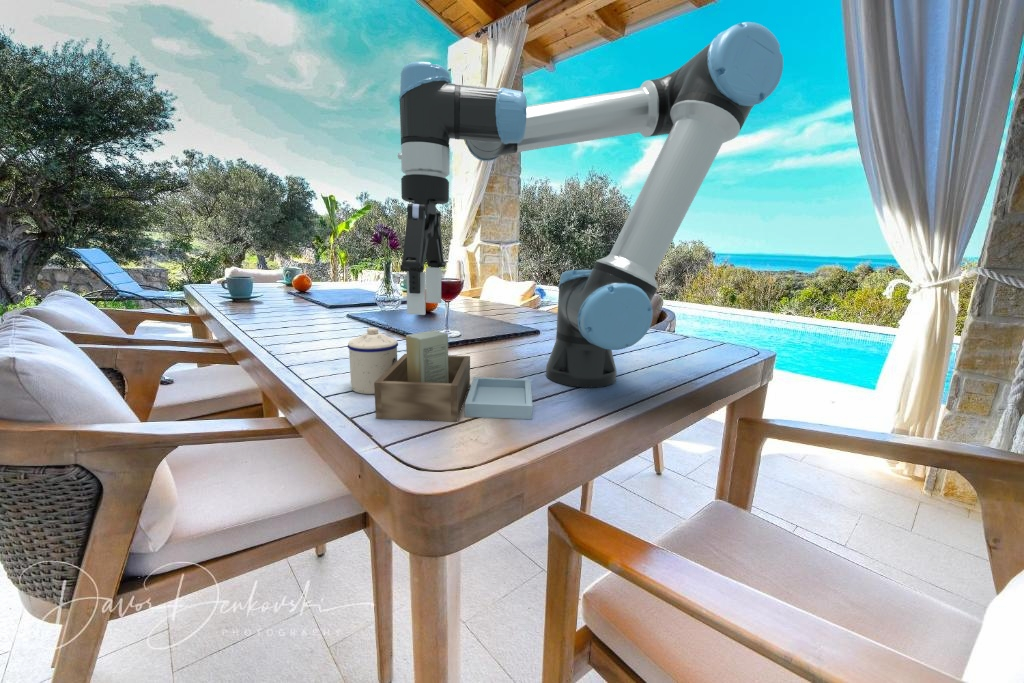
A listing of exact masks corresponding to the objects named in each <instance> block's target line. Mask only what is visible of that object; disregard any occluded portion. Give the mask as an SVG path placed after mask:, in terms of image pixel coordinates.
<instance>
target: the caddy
mask: <svg viewBox="0 0 1024 683" xmlns="http://www.w3.org/2000/svg"><path fill="white" fill-rule="evenodd" d="M448 374H449V383H425V382H408V376H407V353H403V355H402V356H401V357H400V358H398V359H397V362H396V363H395V364H393V365H392V366H391V367H390V368H389V369H388V370H387V371H386V372H385V373H384V374H383V375H382V376H381V377H380V378H379V379H378V380H377V381H376V382H375V383H374V387H375V394H374V404H375V405H374V407H375V408H374V410H375V419H381V420H382V419H384V420H409V421H433V422H435V421H436V422H458V420H459V417H460V414H461V412H462V409H461V408H463V406H462V405H464V404H465V401H466V398H467V395H468V392H469V389H470V386H471V382H470V381H471V355H451V354H450V355H449V354H448ZM469 385H470V386H469ZM468 388H469V389H468ZM460 411H461V412H460Z"/></svg>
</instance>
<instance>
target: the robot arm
mask: <svg viewBox="0 0 1024 683" xmlns="http://www.w3.org/2000/svg"><path fill="white" fill-rule="evenodd" d="M780 45H781V44H780V43H779V41H778V39H777V37H776V36H775V34H774V33H773V32H771V30H769V29H768V28H767V27H766V26H763V24H761V23H757V22H753V21H752V22H751V21H745V22H741V23H740V22H739V23H737V24H734V25H732V26H730V27H729V28H728V29H725V30H723V31H721V32H720V33H718V34H717V35H716V36H715V37H714V38H713V39H712V41H711V42H710V43H709V44H707V45H706V46H704V48H702V49H701V50H700V51H699V52H697V54H695V55H694V56H692V58H690V59H689V60H688V61H687V62H686V63H684V64H683V65H682V66H681V67H679V68H677V69H675V70H674V71H672V72H671V73H669V74H666V75H665V76H663V77H658V78H655V79H648V80H645V81H643V82H642V84H641V85H640V87H637V88H632V89H630V88H629V89H626V90H619V91H612V92H608V93H607V92H606V93H600V94H594V95H588V96H581V97H575V98H569V99H564V100H563V99H562V100H555V101H549V102H543V103H538V104H529V105H528V102H527V96H526V94H525V93H524V92H523V91H521V90H515V89H511V88H510V89H509V88H506V87H486V86H475V85H462V84H455V83H452V81H451V77H450V73H449V71H448V70H447V69H446V68H445V67H444V66H442V65H440V64H439V63H438V64H437V63H436V64H434V63H432V62H429V61H421V60H419V61H418V60H417V61H412V62H410V63H407V64H406V65H404V66H403V67H402V68H401V73H400V90H399V93H400V95H399V96H398V97H399V98H398V101H399V114H400V115H399V120H400V121H399V125H400V127H399V128H400V150H401V152H398V154H397V159H399V160H400V165H401V166H400V167H401V168H400V169H401V170H400V171H401V172H402V173H403V174H405V175H403V176H402V177H401V178H400V181H401V182H400V183H401V185H400V188H401V194H400V195H401V199H402V200H403V201H404V202H408V203H407V206H406V209H407V210H406V211H407V212H406V214H407V216H406V217H407V218H406V219H407V220H406V227H405V235H404V244H403V251H402V253H403V254H402V261H401V264H400V272H406V314H407V315H417V316H418V315H420V316H426V314H427V313H426V307H427V306H426V305H427V304H442V268H446V265H447V264H446V263H447V262H446V261H445V259H444V253H443V252H444V250H443V241H442V240H443V239H442V238H443V237H442V228H441V227H442V226H441V216H442V214H441V211H439V210H438V211H437V205H445V204H448V203H449V201H450V181H449V180H448V178H447V177H449V175H450V164H451V163H450V162H451V161H450V159H451V158H450V154H451V153H450V152H451V151H450V149H451V148H450V139H451V140H452V139H455V140H462V141H463V140H464V141H465V144H466V145H467V148H468V151H469V152H470V154H471V155H472V157H474V158H475V159H477V160H479V161H480V162H481V161H482V162H490V161H494V160H496V159H497V158H499V157H500V156H505V155H512V154H516V153H521V152H528V151H534V150H539V149H540V150H541V149H546V148H551V147H558V146H564V145H571V144H577V143H583V142H589V141H595V140H601V139H603V140H604V139H607V138H614V137H621V136H627V135H633V134H638V133H639V134H640V135H641V136H643V137H644V138H649V137H656V136H665V135H667V137H666V140H665V141H664V144H662V145H663V146H661V149H660V152H659V153H658V155H657V157H656V160H655V161H654V163H653V166H652V168H651V170H650V171H649V174H648V176H647V178H646V179H645V182H644V184H643V186H642V187H641V189H640V191H639V194H638V196H637V197H636V200H635V202H634V204H633V206H632V209H631V210H630V212H629V214H628V216H627V218H626V220H625V222H624V224H623V227H622V228H621V230H620V232H619V235H618V237H617V239H616V240H615V243H614V244H613V247H612V248H611V251H609V252H610V253H609V254H608V255H606V256H604V257H603V258H600V259H597V260H596V261H595V263H594V266H593V267H592V269H571V270H566V271H563V272H561V273H560V274H561V275H560V278H559V283H558V286H557V287H558V300H557V301H558V302H557V318H556V337H555V342H554V345H553V347H552V350H551V353H550V356H549V358H548V359H547V360H548V361H547V363H546V369H545V370H546V371H545V375H546V377H547V378H548V379H549V380H551V381H552V382H555V383H558V384H560V385H565V386H570V387H577V388H602V387H603V388H604V387H607V386H610V385H613V384H614V383H615V382H616V381H617V378H616V377H617V366H616V363H615V360H614V359H615V358H614V355H613V354H614V353H613V351H620V350H623V349H624V350H625V349H627V348H630V347H632V346H634V345H635V344H637V343H639V342H640V341H641V340H642V339H644V337H645V335H647V333H648V331H649V330H650V329H651V326H652V322H653V316H654V310H653V306H652V300H653V299H654V297H655V294H656V293H657V290H658V288H659V287H658V283H657V280H656V278H655V276H656V273H657V271H658V269H659V267H660V265H661V263H662V261H663V259H664V257H665V256H666V253H667V252H668V249H669V248H670V246H671V244H672V242H673V241H674V238H675V237H676V234H677V232H678V230H679V229H680V226H681V224H682V223H683V221H684V219H685V217H686V215H687V213H688V211H689V209H690V207H691V205H692V203H693V201H694V199H695V197H696V196H697V193H698V192H699V190H700V188H701V186H702V184H703V182H704V180H705V178H706V176H707V174H708V173H709V171H710V168H711V167H712V165H713V163H714V161H715V159H716V157H717V155H718V153H719V151H720V149H721V148H722V146H723V144H725V143H727V142H730V141H732V140H734V139H735V138H737V137H738V135H739V133H740V132H741V130H742V128H743V126H744V125H745V122H746V121H747V118H748V117H749V115H750V113H751V111H752V109H753V108H754V106H756V105H759V104H762V103H763V102H764V101H766V99H767V98H768V97H770V96H771V95H772V94H773V92H774V91H775V90H776V88H777V87H778V86H779V84H780V81H781V78H782V75H783V70H784V56H783V53H782V52H781V46H780ZM425 262H426V265H427V267H425ZM424 270H425V271H424ZM426 303H427V304H426Z"/></svg>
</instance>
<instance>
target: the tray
mask: <svg viewBox="0 0 1024 683" xmlns="http://www.w3.org/2000/svg"><path fill="white" fill-rule="evenodd" d="M531 386H532V385H531V379H530V378H507V377H505V378H504V377H503V378H502V377H483V376H482V377H481V376H480V377H479V376H473V378H472V382H471V383H470V386H469V389H468V392H467V395H466V398H465V401H464V417H466V418H490V419H495V418H496V419H514V420H516V419H517V420H532V419H533V398H532V388H531Z"/></svg>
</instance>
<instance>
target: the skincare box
mask: <svg viewBox="0 0 1024 683" xmlns="http://www.w3.org/2000/svg"><path fill="white" fill-rule="evenodd" d="M405 343H406V344H405V345H406V349H405V350H406V354H407V376H408V382H425V383H449V374H448V355H449V334H448V333H446V332H442V331H438V330H433V329H432V330H427V331H422V332H416V333H412V334H406V335H405Z"/></svg>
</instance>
